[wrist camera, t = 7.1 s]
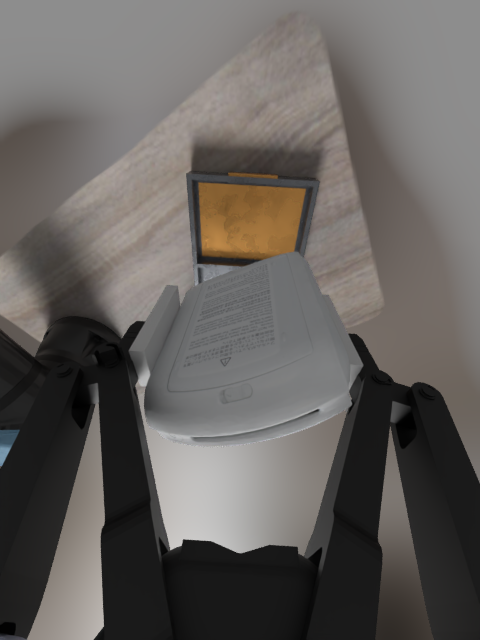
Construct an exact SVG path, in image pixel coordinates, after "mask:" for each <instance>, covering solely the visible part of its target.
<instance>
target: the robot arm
mask: <svg viewBox="0 0 480 640" xmlns="http://www.w3.org/2000/svg"><path fill="white" fill-rule="evenodd" d="M322 296H323V298H324V300H325V303H326V305H327V307H328V310H329V312H330V314H331V317H332V319H333V321H334V324H335V326H336V329H337V331H338V333H339V336H340V338H341V340H342V342H343V345H344V347H345V349H346V352H347V355H348V358H349V362H350V382H349V386H348V387H349V393H350V395H351V398H352V400H351V402H352V405H351V406H350V407H349V408H347V409H346V412H347V414H346V418H345V421H344V425H343V428H342V432H341V435H340V439H339V443H338V446H337V450H336V453H335V457H334V460H333V464H332V467H331V471H330V474H329V478H328V482H327V485H326V489H325V492H324V496H323V499H322V503H321V506H320V510H319V515H318V517H317V521H316V524H315V528H314V531H313V534H312V536H311V539H310V541H309V543H308V546H307V549H306V552H305V555H304V556H302V555H300V554H298V547H291V546H276V545H268V546H265V547H261V548H258V549H255V550H252V551H248V552H245V553H236V552H234V551H232V550H230V549H227V548H225V547H223V546H221V545H218V544H216V543H214V542H211V541H199V540H183V543H182V546H180V547H177V548H175V549H173V550H170V547H169V542H168V538H167V534H166V530H165V527H164V523H163V519H162V514H161V509H160V504H159V499H158V494H157V490H156V484H155V479H154V475H153V469H152V465H151V460H150V455H149V450H148V445H147V440H146V435H145V430H144V425H143V420H142V415H141V411H140V405H139V401H138V395H137V390H136V387H135V385H136V383H137V381H139V384H140V386H146V385H147V382H148V379H149V377H150V375H151V373H152V371H153V369H154V366H155V364H156V362H157V359H158V357H159V355H160V352H161V350H162V348H163V346H164V343H165V341H166V339H167V337H168V334H169V332H170V330H171V327H172V325H173V323H174V321H175V318H176V316H177V314H178V311H179V309H180V300H179V292H178V286H173V285H167V286H166V288H165V289H164V291H163V293H162V295H161V296H160V298H159V300H158V301H157V303H156V305H155V306H154V308H153V310H152V312H151V313H150V315H149V317H148V318H147V320H146V322H143V321H136V322H135V323H134V324H132V325H131V326H130V327H129V329H128V330H127V332H126V333H125V335H124V336H123V338H122V339H121V340H120V339H119V337H118V336H117V335H116V334H115V333H114V332H113V331H111V330H110V329H109V328H107V327H106V326H104V325H102V324H100V323H98V322H96V321H93V320H90V319H87V318H82V317H65V318H62V319H60V320H58V321H56V322H55V323H54V324H53V325H52V326H51V327H50V328H49V329H48V330H47V331H46V333H45V335H44V338H43V341H42V342H41V344H40V346H39V348H38V351H37V353H36V355H35V357H33V356H32V355H31V354H29V353H28V352H27V351H26V350H25V349H23V348H22V347H21V346H20V345H19V344H17V343H16V342H15V341H14V340H13V339H12V338H10V337H9V336H8V335H7V334H6V333H4V332H3V331H2V330H1V329H0V466H2V467H1V469H0V640H27V637H28V635H29V633H30V631H31V628H32V625H33V623H34V620H35V617H36V615H37V612H38V610H39V607H40V604H41V601H42V598H43V595H44V592H45V588H46V585H47V582H48V578H49V575H50V571H51V567H52V563H53V560H54V556H55V552H56V549H57V545H58V541H59V538H60V534H61V530H62V526H63V522H64V519H65V515H66V512H67V508H68V504H69V500H70V497H71V493H72V489H73V486H74V482H75V478H76V474H77V471H78V467H79V463H80V460H81V456H82V452H83V449H84V445H85V441H86V437H87V434H88V430H89V426H90V422H91V419H92V415H93V412H94V408H95V404H96V403H99V415H100V433H101V452H102V470H103V487H104V507H105V524H104V526H103V528H102V532H101V562H102V588H103V612H104V627H103V629H102V630H101V631H100V632H99V633H98V635H97V636H96V637H95V639H94V640H375V635H376V623H377V614H378V603H379V591H380V581H381V571H382V549H381V546H380V544H379V543H378V528H379V519H380V510H381V501H382V492H383V482H384V474H385V465H386V456H387V447H388V438H389V429H390V426H391V431H392V435H393V441H394V446H395V451H396V456H397V461H398V467H399V472H400V477H401V482H402V487H403V492H404V497H405V502H406V507H407V513H408V518H409V523H410V528H411V533H412V538H413V544H414V549H415V554H416V559H417V564H418V569H419V574H420V580H421V585H422V590H423V594H424V600H425V605H426V609H427V614H428V618H429V623H430V627H431V631H432V634H433V637H434V640H480V483H479V481H478V478H477V476H476V474H475V471H474V469H473V466H472V464H471V462H470V459H469V457H468V455H467V452H466V450H465V448H464V445H463V443H462V441H461V438H460V436H459V434H458V431H457V429H456V427H455V424H454V422H453V419H452V417H451V415H450V412H449V410H448V408H447V405H446V403H445V401H444V398H443V397H442V395H441V393H440V392H439V391H438V390H436V389H435V388H434V387H432V386H430V385H428V384H425V383H421V382H417V383H414V384H413V385H412V386H411V387H408V386H405V385H401V384H398V383H395V382H394V381H393V379H392V378H391V377H390V376H389V375H388V374H387V373H385V372H383V371H381V370H379V369H378V367H377V365H376V363H375V361H374V359H373V358H372V356H371V354H370V353H369V351H368V349H367V347H366V345H365V343H364V341H363V340H362V339H361V338H360V337H359V336H358V335H357V334H348V333H347V331H346V329H345V327H344V325H343V323H342V321H341V319H340V317H339V315H338V313H337V311H336V309H335V307H334V305H333V303H332V301H331V299H330V297H329V295H322Z"/></svg>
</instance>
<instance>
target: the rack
mask: <svg viewBox="0 0 480 640" xmlns="http://www.w3.org/2000/svg"><path fill="white" fill-rule="evenodd" d="M186 178H187V191H188V204H189V217H190V230H191V242H192V255H193V268H194V281H195V286H196V285H198V284H200V283H202V282H204V281H207V280H209V279H212V278H214V277H217V276H220V275H222V274H225V273H228V272H230V271H233V270H236V269H239V268H242V267H244V266H247V265H250V264H253V263H256V262H258V261H261V260H264V259H267V258H270V257H273V256H276V255H280V254H284V253H289V252H299V254H300V256H302V257H304V252H305V247H306V243H307V238H308V233H309V229H310V224H311V220H312V215H313V210H314V206H315V201H316V197H317V192H318V187H319V183H320V181H318V180H316V179H315V178H300V177H283V176H278V175H277V174H261V173H244V172H229V173H214V172H197V171H190V172H188V173H186Z"/></svg>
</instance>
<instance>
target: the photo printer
mask: <svg viewBox="0 0 480 640" xmlns="http://www.w3.org/2000/svg"><path fill="white" fill-rule="evenodd" d="M349 382H350V362H349V358H348V355H347V352H346V349H345V347H344V345H343V342H342V340H341V338H340V336H339V333H338V331H337V329H336V326H335V324H334V321H333V319H332V317H331V314H330V312H329V310H328V307H327V305H326V303H325V300H324V298H323V296H322V293H321V291H320V289H319V286H318V284H317V282H316V279H315V277H314V275H313V272H312V270H311V268H310V266H309V264H308V262H307V261H306V260H305V259H304V258H303V257H302V256H300V254H299V252H289V253H284V254H280V255H276V256H273V257H270V258H267V259H264V260H261V261H258V262H256V263H253V264H250V265H247V266H244V267H242V268H239V269H236V270H233V271H230V272H228V273H225V274H222V275H220V276H217V277H214V278H212V279H209V280H207V281H204V282H202V283H200V284H198V285H196V286H194V287H193V288H191V289H190V290H189V291H188V292H187V293H186V295H185V297H184V300H183V302H182V304H181V307H180V309H179V311H178V314H177V316H176V318H175V321H174V323H173V325H172V327H171V330H170V332H169V334H168V337H167V339H166V341H165V343H164V346H163V348H162V350H161V352H160V355H159V357H158V359H157V362H156V364H155V366H154V369H153V371H152V373H151V375H150V377H149V379H148V382H147V385H146V389H145V399H144V409H145V417H146V421H147V424H148V426H149V427H150V428H151V429H154V430H156V431H158V432H159V433H160V435H161V437H162V438H164V439H167V440H170V441H173V442H177V443H180V444H186V445H192V446H204V447H205V446H206V447H221V446H236V445H244V444H252V443H257V442H262V441H267V440H271V439H276V438H279V437H282V436H286V435H289V434H292V433H295V432H298V431H302V430H304V429H307V428H309V427H312V426H314V425H317V424H319V423H321V422H323V421H325V420H327V419H329V418H331V417H333V416H335V415H337V414H339V413H340V412H342V411H344V410H345V409H347V408H349V407H350V406H351V405H352V402H351V399H350V396H349V387H348V386H349Z"/></svg>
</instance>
